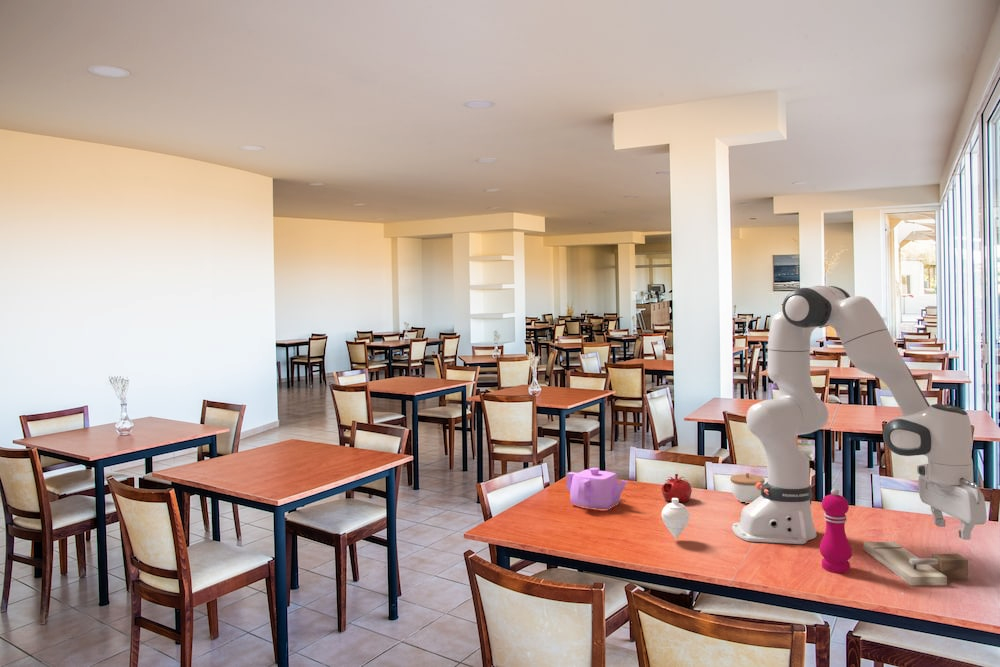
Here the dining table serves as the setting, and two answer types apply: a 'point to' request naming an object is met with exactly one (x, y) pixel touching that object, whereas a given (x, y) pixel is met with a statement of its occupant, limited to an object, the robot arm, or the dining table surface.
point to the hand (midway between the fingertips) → (952, 532)
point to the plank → (904, 564)
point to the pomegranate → (676, 489)
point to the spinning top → (675, 517)
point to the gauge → (946, 565)
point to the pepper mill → (835, 534)
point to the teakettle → (594, 488)
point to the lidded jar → (746, 486)
